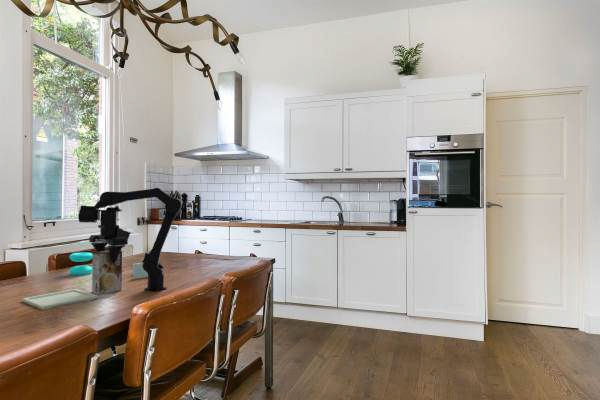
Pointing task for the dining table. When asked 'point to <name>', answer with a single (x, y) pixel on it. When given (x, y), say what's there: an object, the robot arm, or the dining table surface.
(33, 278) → the dining table surface
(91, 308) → the dining table surface
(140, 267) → the right angle wall
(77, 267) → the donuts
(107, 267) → the coffee box
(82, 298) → the sage tray
